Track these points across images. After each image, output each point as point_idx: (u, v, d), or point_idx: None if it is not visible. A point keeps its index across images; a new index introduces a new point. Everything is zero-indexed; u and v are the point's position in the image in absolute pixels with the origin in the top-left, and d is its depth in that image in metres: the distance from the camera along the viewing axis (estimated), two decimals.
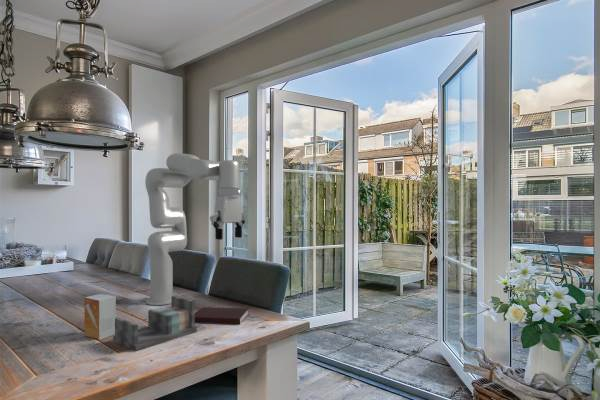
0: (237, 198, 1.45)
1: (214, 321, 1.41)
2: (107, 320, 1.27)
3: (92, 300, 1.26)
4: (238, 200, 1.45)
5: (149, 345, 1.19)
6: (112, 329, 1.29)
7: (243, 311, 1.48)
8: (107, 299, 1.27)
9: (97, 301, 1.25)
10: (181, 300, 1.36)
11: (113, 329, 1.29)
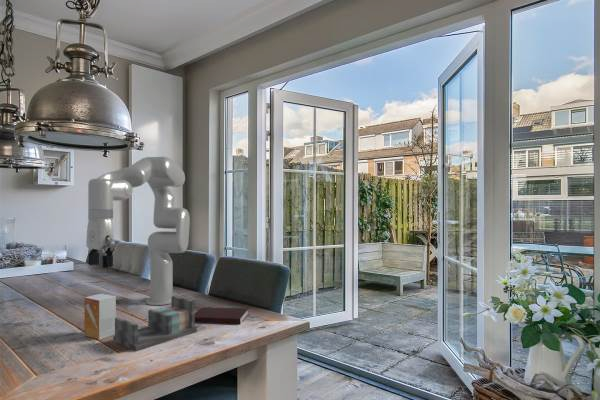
0: None
1: (214, 321, 1.41)
2: (107, 320, 1.27)
3: (92, 300, 1.26)
4: None
5: (149, 345, 1.19)
6: (112, 329, 1.29)
7: (243, 311, 1.48)
8: (107, 299, 1.27)
9: (97, 301, 1.25)
10: (181, 300, 1.36)
11: (113, 329, 1.29)
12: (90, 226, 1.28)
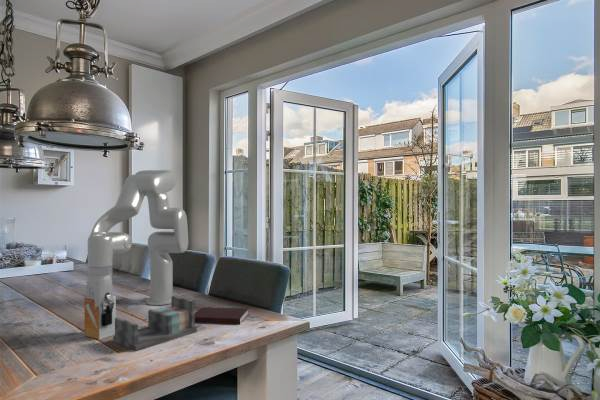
0: None
1: (214, 321, 1.41)
2: None
3: (92, 300, 1.26)
4: None
5: (149, 345, 1.19)
6: (112, 329, 1.29)
7: (243, 311, 1.48)
8: None
9: None
10: (181, 300, 1.36)
11: (113, 329, 1.29)
12: (89, 283, 1.28)
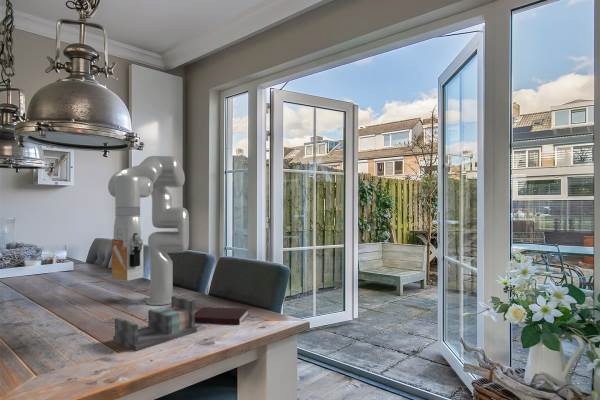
0: None
1: (214, 321, 1.41)
2: None
3: (120, 241, 1.23)
4: None
5: (149, 345, 1.19)
6: (140, 272, 1.26)
7: (243, 311, 1.47)
8: None
9: None
10: (181, 300, 1.36)
11: (141, 272, 1.26)
12: (117, 224, 1.25)
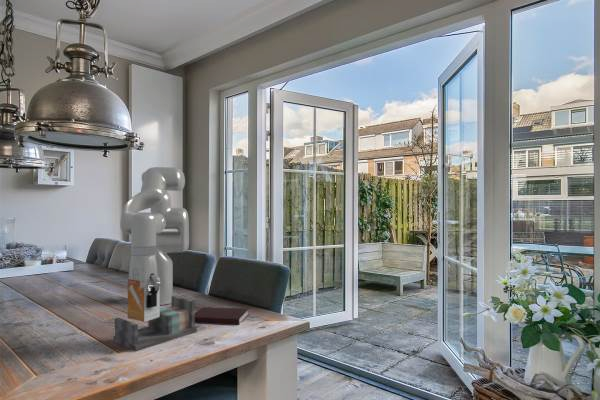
0: None
1: (213, 321, 1.41)
2: None
3: (136, 281, 1.22)
4: None
5: (149, 345, 1.19)
6: (156, 311, 1.24)
7: (243, 311, 1.47)
8: None
9: None
10: (181, 300, 1.36)
11: (157, 311, 1.25)
12: (133, 263, 1.23)
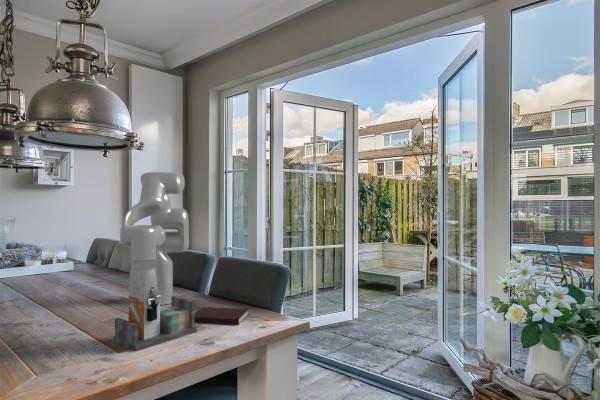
0: None
1: (213, 321, 1.41)
2: None
3: (136, 299, 1.22)
4: None
5: (149, 345, 1.19)
6: (156, 329, 1.24)
7: (243, 311, 1.47)
8: None
9: None
10: (181, 300, 1.36)
11: (157, 329, 1.24)
12: (133, 277, 1.23)
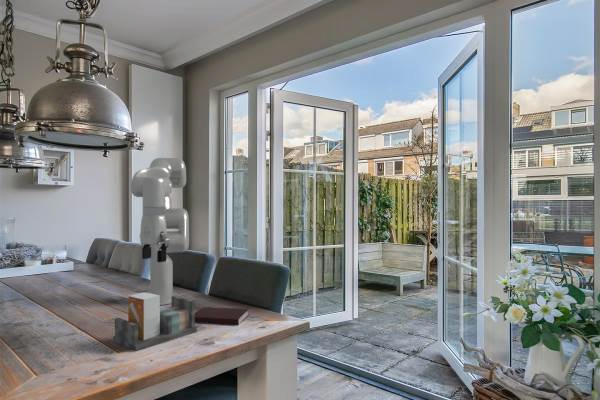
0: None
1: (213, 321, 1.41)
2: (151, 320, 1.22)
3: (136, 299, 1.22)
4: None
5: (149, 345, 1.19)
6: (156, 329, 1.24)
7: (243, 312, 1.47)
8: (151, 298, 1.22)
9: (141, 300, 1.20)
10: (181, 300, 1.36)
11: (157, 329, 1.24)
12: (144, 222, 1.34)
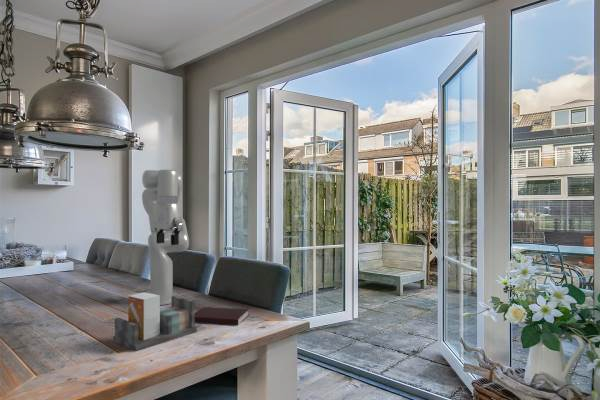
0: None
1: (213, 321, 1.41)
2: (151, 320, 1.22)
3: (136, 299, 1.22)
4: None
5: (149, 345, 1.19)
6: (156, 329, 1.24)
7: (242, 312, 1.47)
8: (151, 298, 1.22)
9: (141, 300, 1.20)
10: (181, 300, 1.36)
11: (157, 329, 1.24)
12: (159, 210, 1.51)
